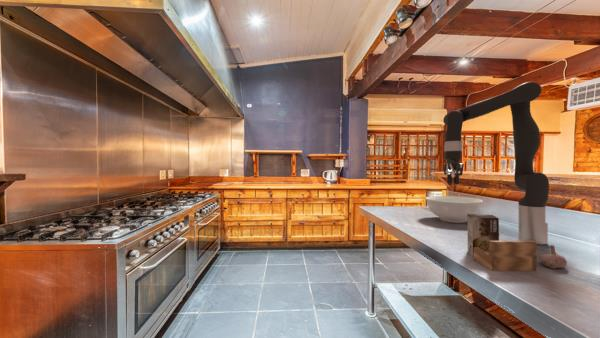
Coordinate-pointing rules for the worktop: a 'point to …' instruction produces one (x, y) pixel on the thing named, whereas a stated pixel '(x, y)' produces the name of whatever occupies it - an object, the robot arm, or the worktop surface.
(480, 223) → the coffee box
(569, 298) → the worktop surface
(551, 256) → the garlic bulb
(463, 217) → the bowl
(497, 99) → the robot arm
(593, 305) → the worktop surface
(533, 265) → the holder
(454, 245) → the worktop surface
